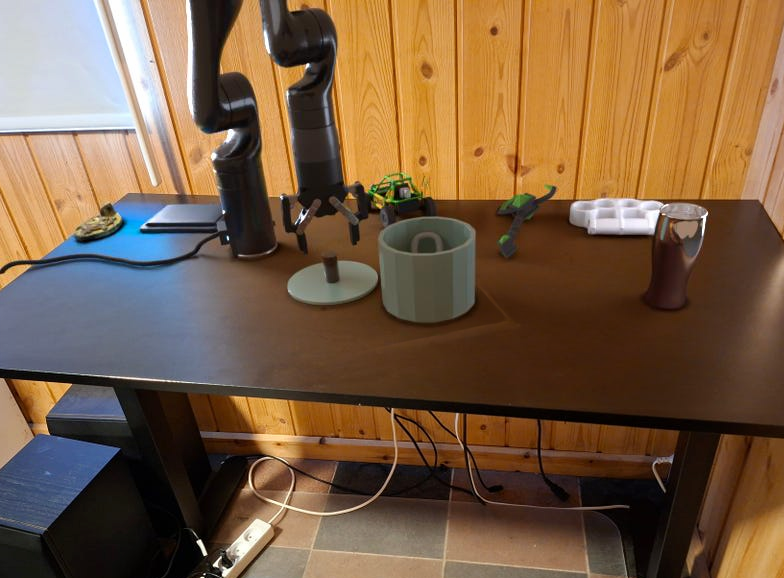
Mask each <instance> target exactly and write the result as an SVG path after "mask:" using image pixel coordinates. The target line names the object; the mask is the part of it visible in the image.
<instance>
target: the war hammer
mask: <svg viewBox="0 0 784 578" xmlns="http://www.w3.org/2000/svg"><path fill="white" fill-rule="evenodd" d="M544 188H545V189H547V190H549V191H548V193H546V194H544V195H543V196H540V197H538V198H537V196H536V195H533V194H531V193H529V192H524V194H522V193H517V194H516V195H514V196H513V197H511V198H510V199H508V200H505V202H503V203H502V205H501V206H500V208H499V210H498V212H497V215H512V217H513V218H514V219H513V221H512V223H511V226H510V227H509V229H508V231H507V232H506V233H504V235H502V236H501V237H500V238H499V239H498V240H497V241H496V244H497V245H498V246H499V248H500V250H501V251H500V253H501V255H502V256H503V257H504V258H505V259H508V258H510V256H511V255H513V254H514V253H515V252H516V251H517V250H518V247H517V246H516V245H515V243H514V240H515V239H516V238H517V237H516V236H517V233H518V232H519V230H520V228H521V225H522V224H523V222H524V221H525V220H531V218H532V217H533V215H534V214H535V213H536V212H538V210H539V209H540V208H541V206H540V205H541V204H543V203H544V202H547V201H549V200H550V199H552V198H553V197H554V195H556V192H557V189H558V188H557V186H556V185H552V184H551V185H550V184H544ZM507 207H508V208H507Z"/></svg>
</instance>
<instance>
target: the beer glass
mask: <svg viewBox="0 0 784 578" xmlns="http://www.w3.org/2000/svg"><path fill="white" fill-rule="evenodd" d="M708 214H709V212H708V210H707V209H706V208H705V207H704V206H701V205H698V204H694V203H689V202H670V203H666V204H664V205H663V206H661V207H660V208H659V213H658V217H657V220H656V224H655V227H654V233H653V235H652V239H651V250H650V251H651V253H650V254H651V275H650V281H649V284H648V288H647V289H646V292H645V295H644V300H645V302H646V303H647V304H648V305H650V306H652V307H653V308H657V309H660V310H670V311H671V310H678V309H681V308H683V307H684V306H685V305H686V303H687V287H688V282H689V281H688V280H689V278H690V276H691V273H692V271H693V269H694V266H695V265H696V262H697V261H698V258H699V255H700V252H701V249H702V247H703V242H704V238H705V233H706V226H707V218H708Z"/></svg>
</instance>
